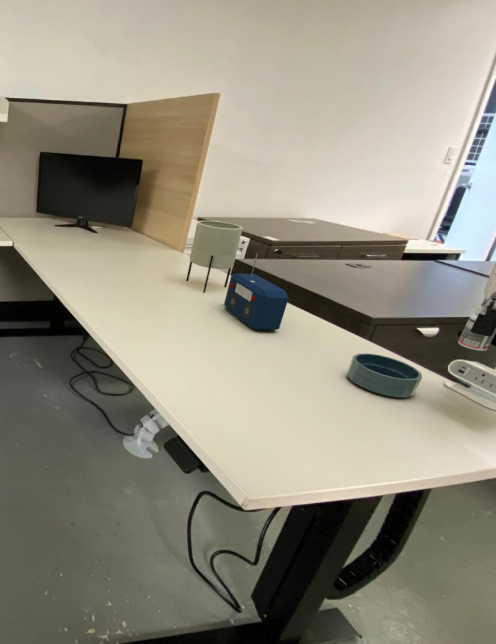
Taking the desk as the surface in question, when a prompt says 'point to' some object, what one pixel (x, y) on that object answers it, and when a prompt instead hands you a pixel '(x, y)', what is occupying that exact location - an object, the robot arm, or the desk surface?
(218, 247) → the planter
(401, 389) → the bowl
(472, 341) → the pill bottle
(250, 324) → the radio
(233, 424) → the desk surface
